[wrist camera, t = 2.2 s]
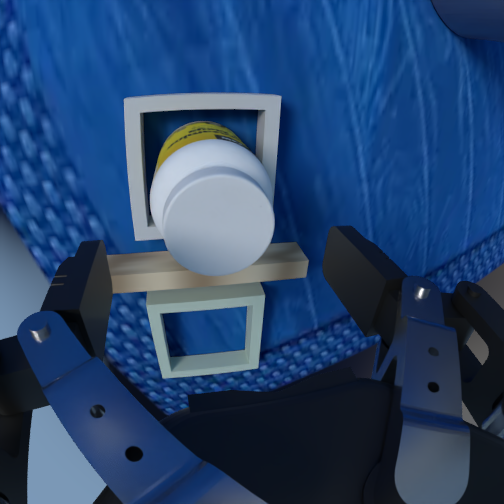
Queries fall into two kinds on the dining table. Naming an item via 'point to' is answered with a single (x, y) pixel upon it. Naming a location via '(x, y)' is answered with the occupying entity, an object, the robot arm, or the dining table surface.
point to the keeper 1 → (190, 101)
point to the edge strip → (177, 277)
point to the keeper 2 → (207, 300)
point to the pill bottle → (211, 200)
